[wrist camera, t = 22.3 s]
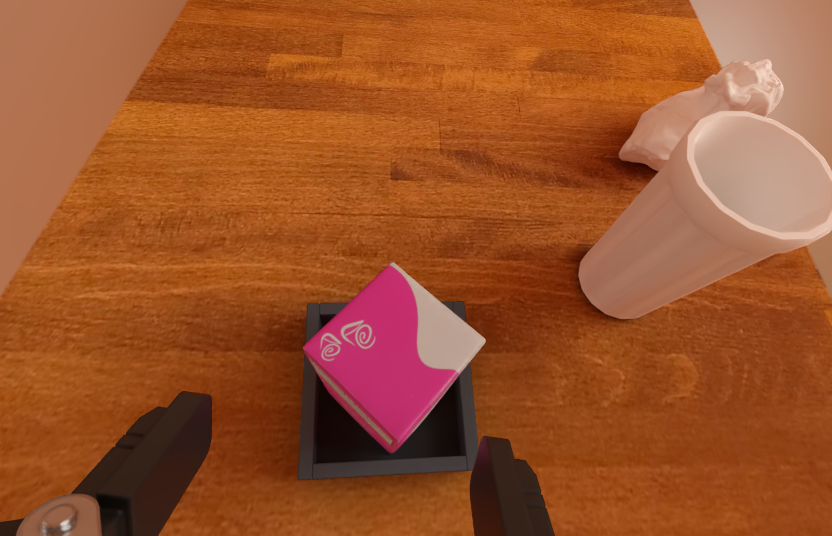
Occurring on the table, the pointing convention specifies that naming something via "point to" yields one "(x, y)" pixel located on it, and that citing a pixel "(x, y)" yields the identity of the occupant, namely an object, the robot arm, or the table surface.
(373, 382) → the supplement box
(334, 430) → the dark grey square tray
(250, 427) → the table surface
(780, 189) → the cup
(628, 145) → the pink lumpy shape
